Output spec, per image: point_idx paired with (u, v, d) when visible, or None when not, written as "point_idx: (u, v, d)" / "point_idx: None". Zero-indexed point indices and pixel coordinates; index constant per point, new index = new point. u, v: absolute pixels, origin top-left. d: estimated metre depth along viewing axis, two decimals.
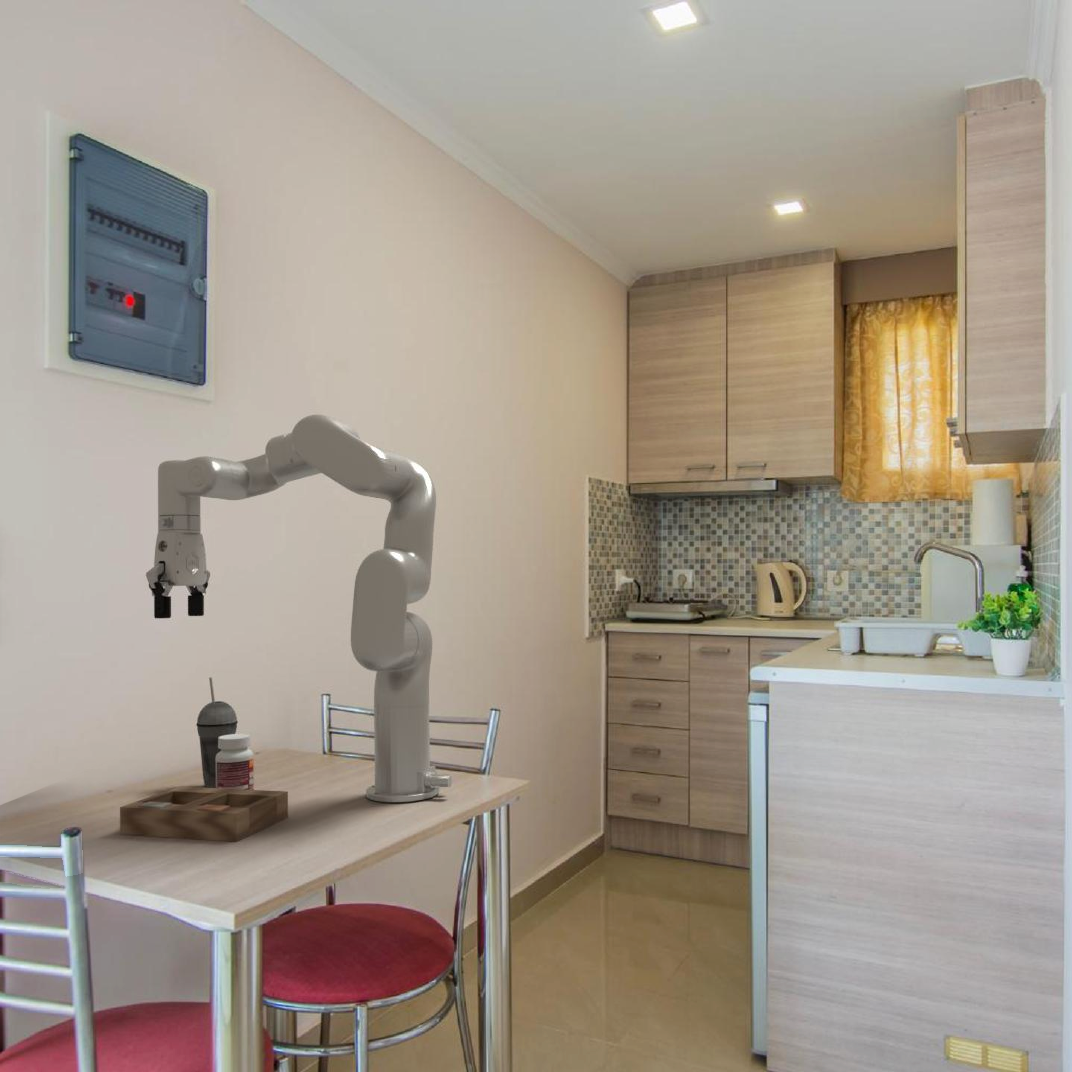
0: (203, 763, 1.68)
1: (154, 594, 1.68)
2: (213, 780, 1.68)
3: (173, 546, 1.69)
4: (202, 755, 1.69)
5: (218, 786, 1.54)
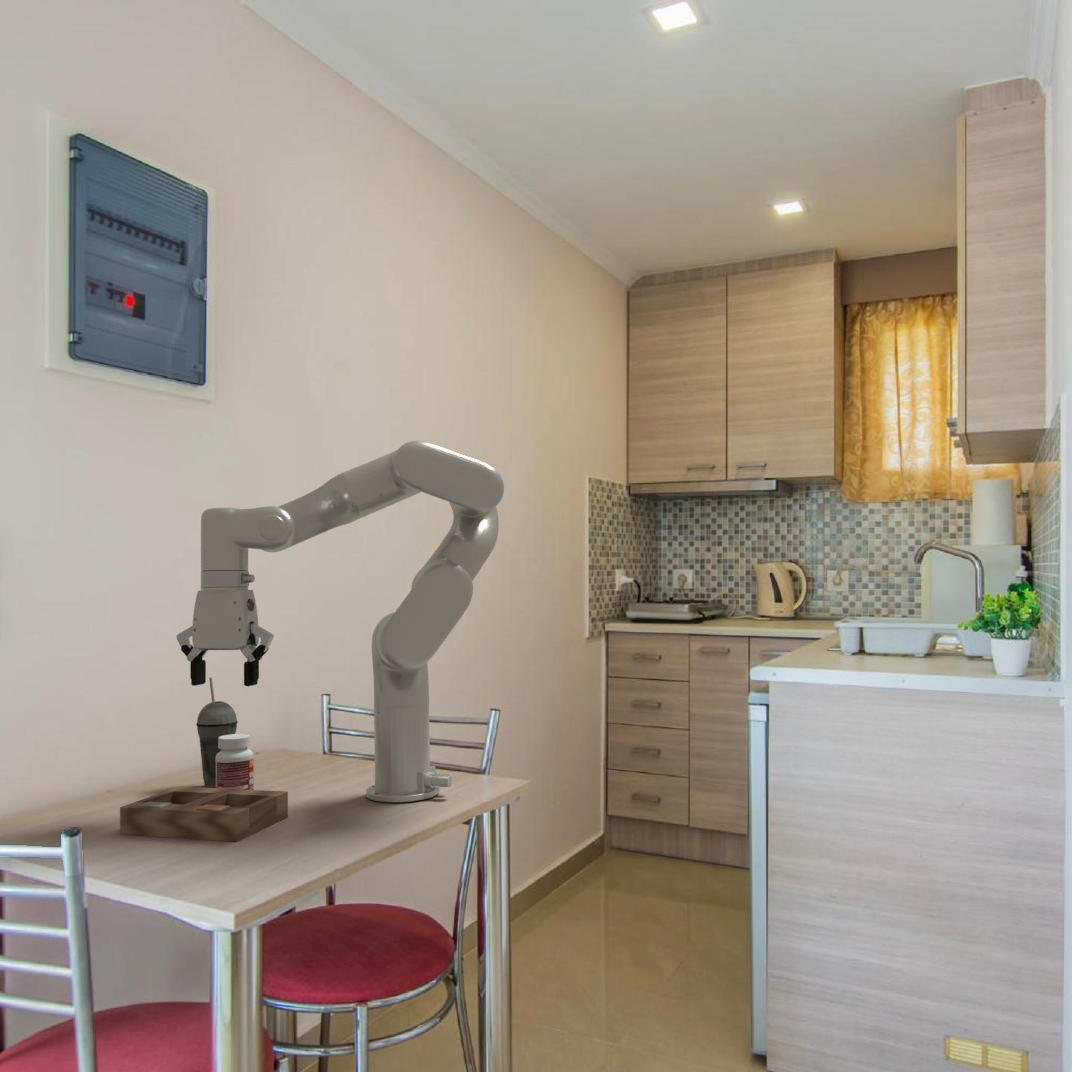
0: (203, 763, 1.68)
1: (255, 658, 1.51)
2: (213, 780, 1.68)
3: None
4: (202, 755, 1.69)
5: (218, 786, 1.54)
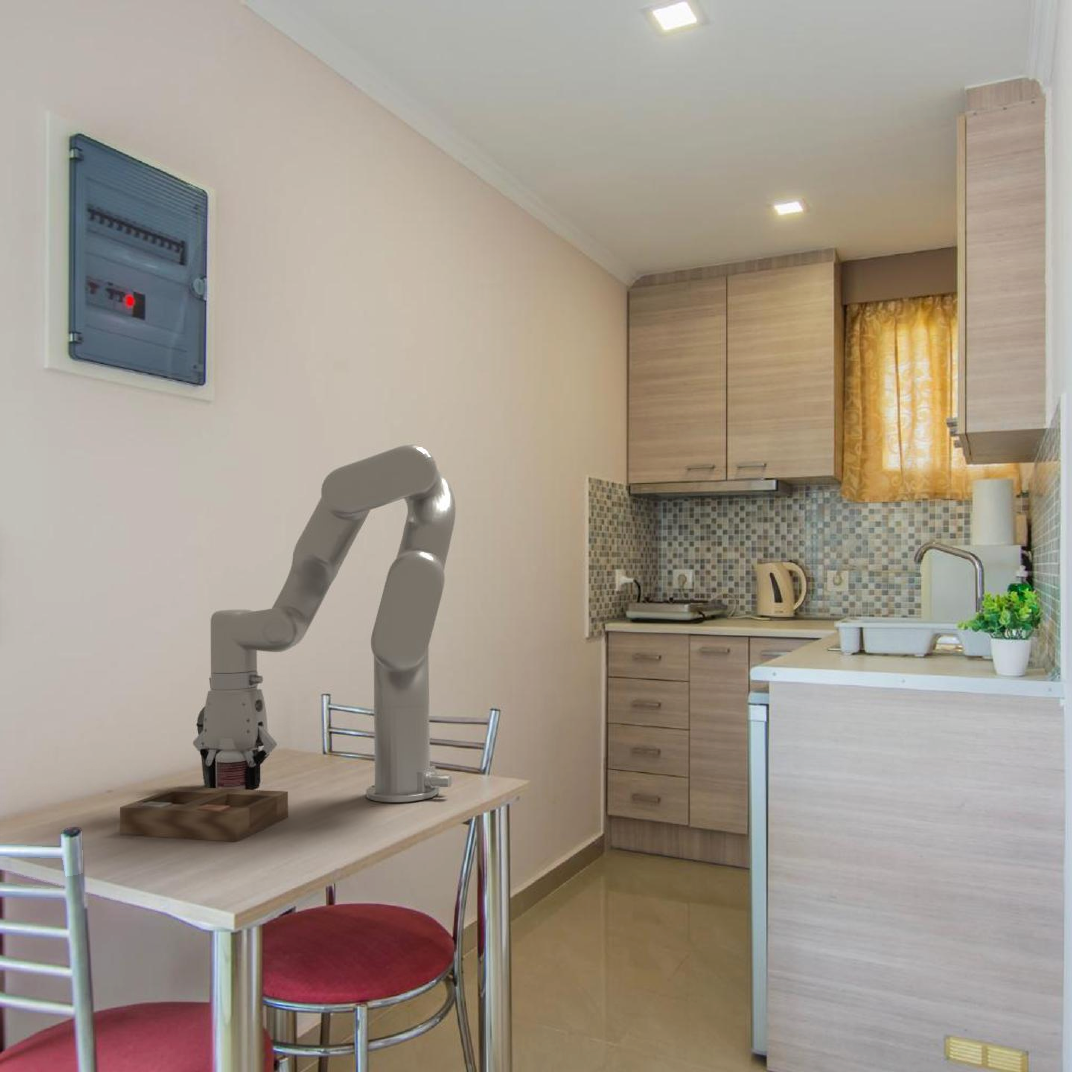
0: (203, 763, 1.68)
1: (256, 764, 1.55)
2: None
3: (264, 704, 1.58)
4: None
5: (218, 786, 1.54)
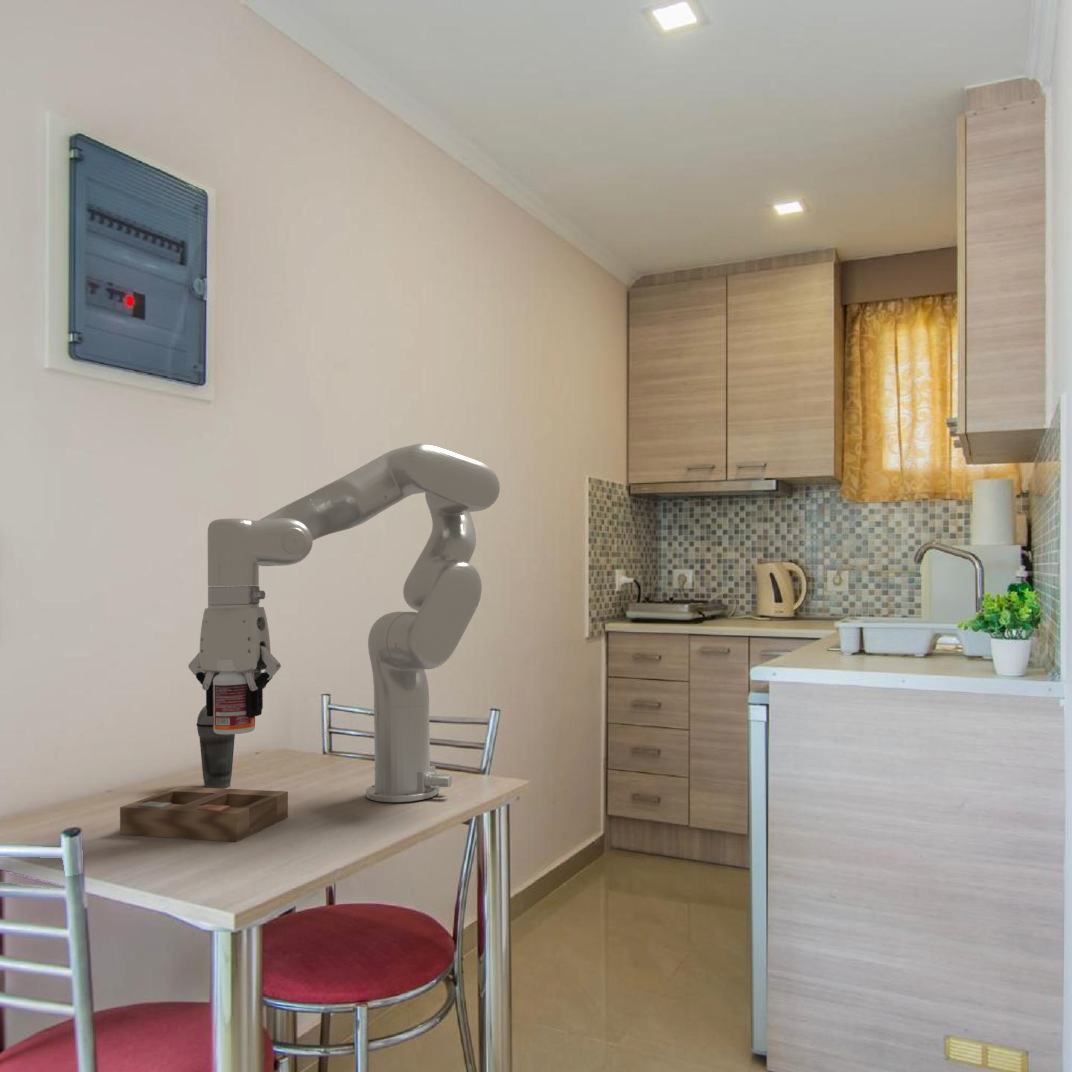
0: (203, 763, 1.68)
1: (258, 687, 1.40)
2: (213, 780, 1.68)
3: (267, 623, 1.43)
4: (202, 755, 1.69)
5: (216, 711, 1.40)
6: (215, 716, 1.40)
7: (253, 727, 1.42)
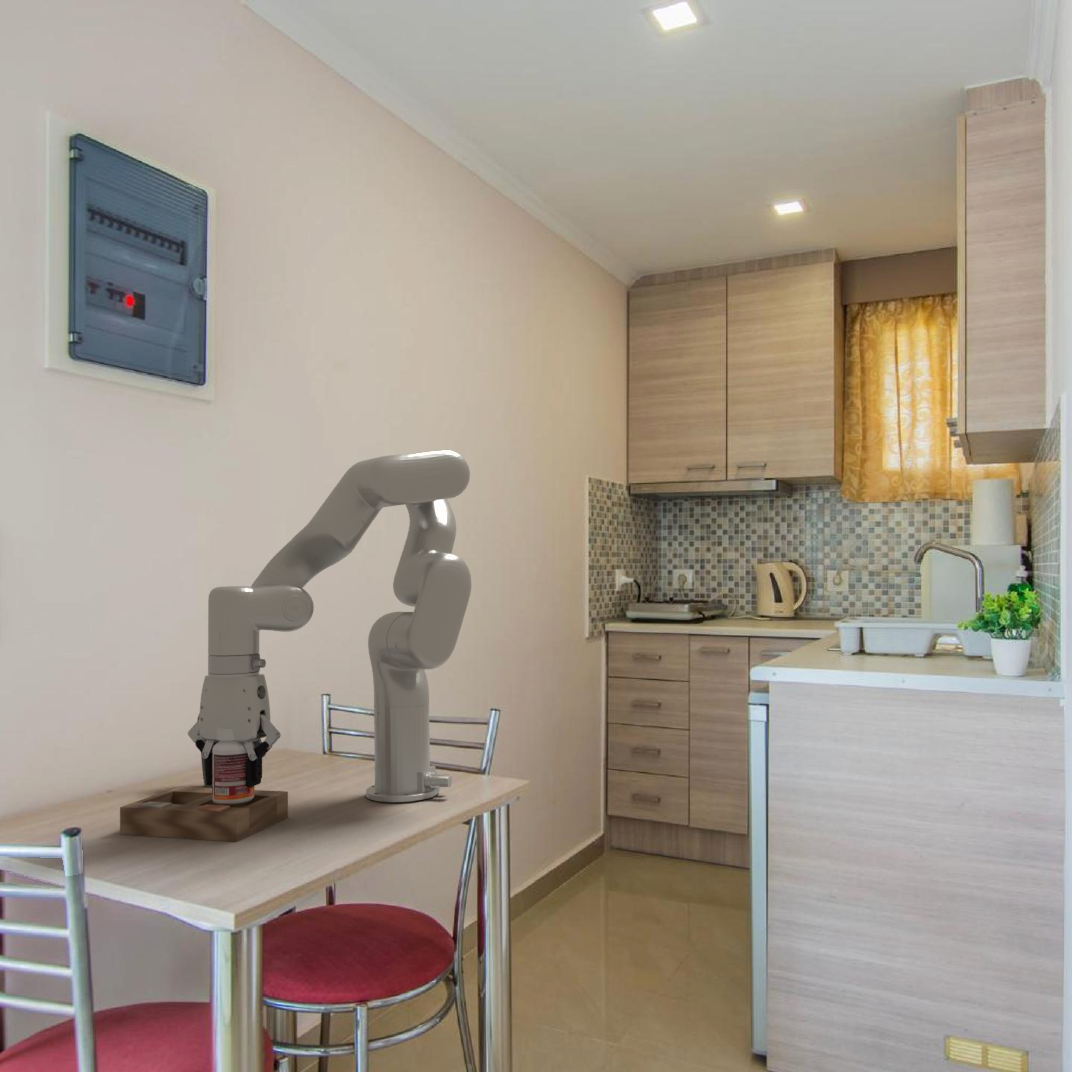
0: (203, 763, 1.68)
1: (258, 757, 1.40)
2: None
3: (267, 691, 1.43)
4: None
5: (215, 781, 1.39)
6: (215, 786, 1.39)
7: (252, 796, 1.41)
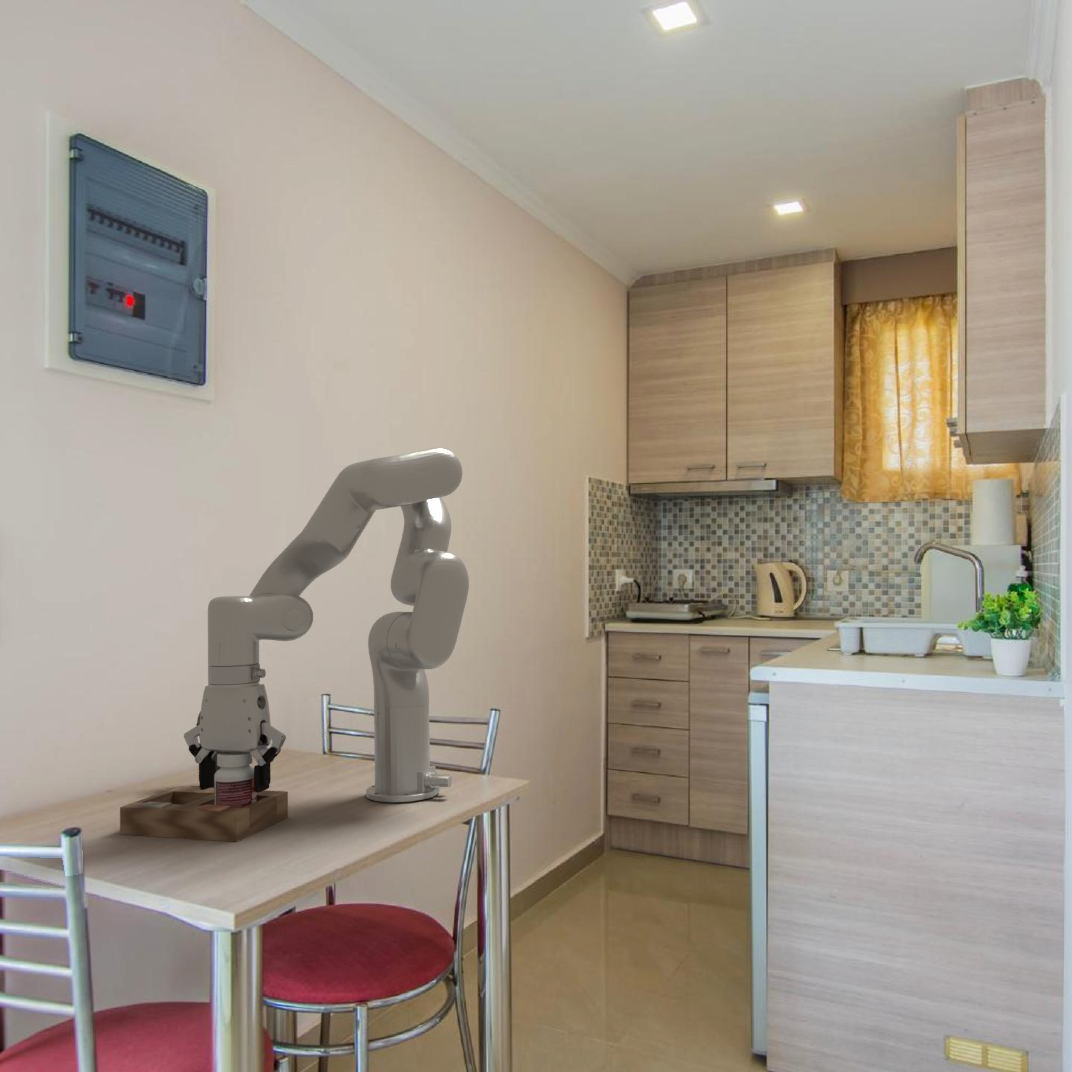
0: None
1: (266, 762, 1.39)
2: None
3: (267, 701, 1.43)
4: None
5: None
6: None
7: None
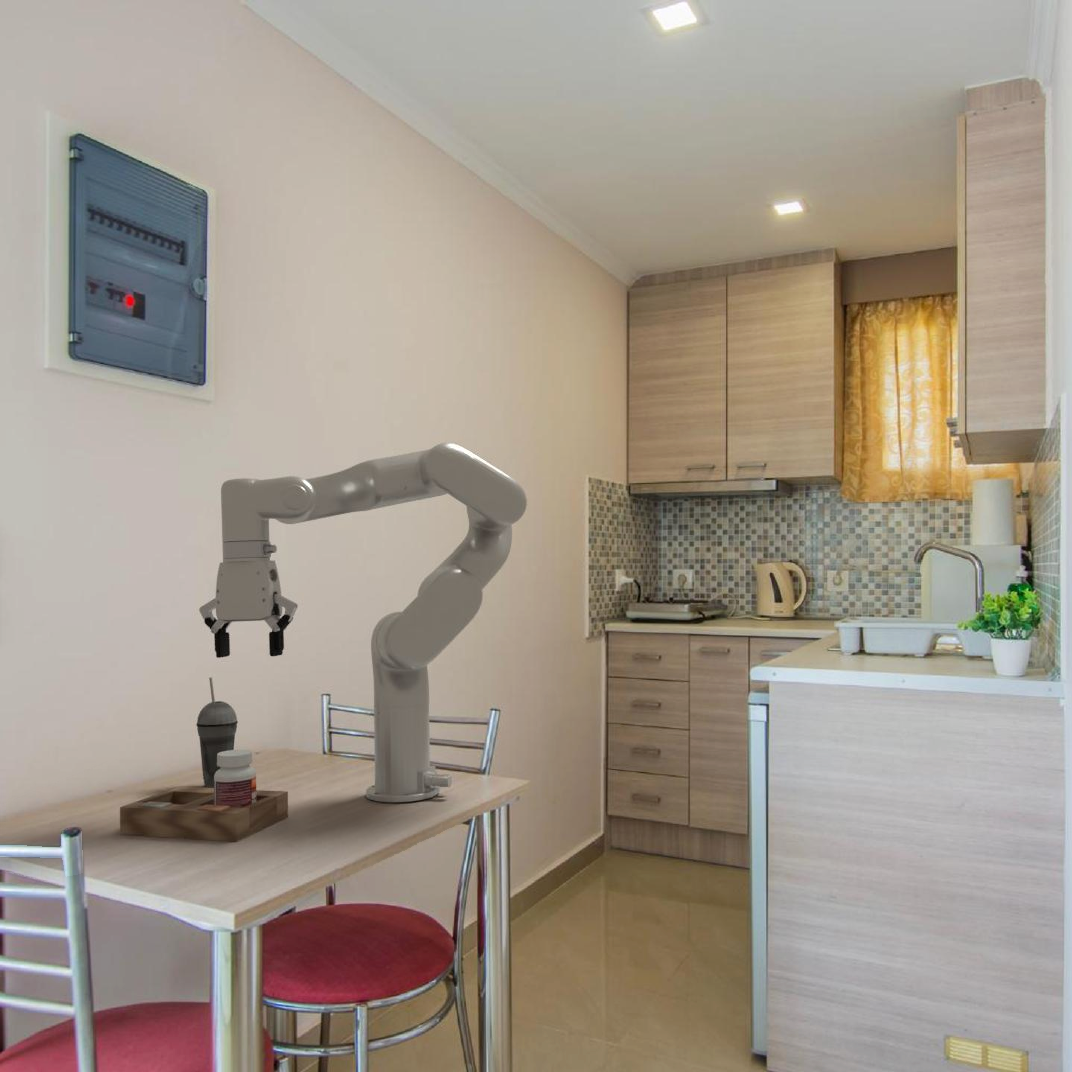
0: (203, 763, 1.68)
1: (280, 628, 1.51)
2: (213, 780, 1.68)
3: (278, 576, 1.55)
4: (202, 755, 1.69)
5: None
6: None
7: None
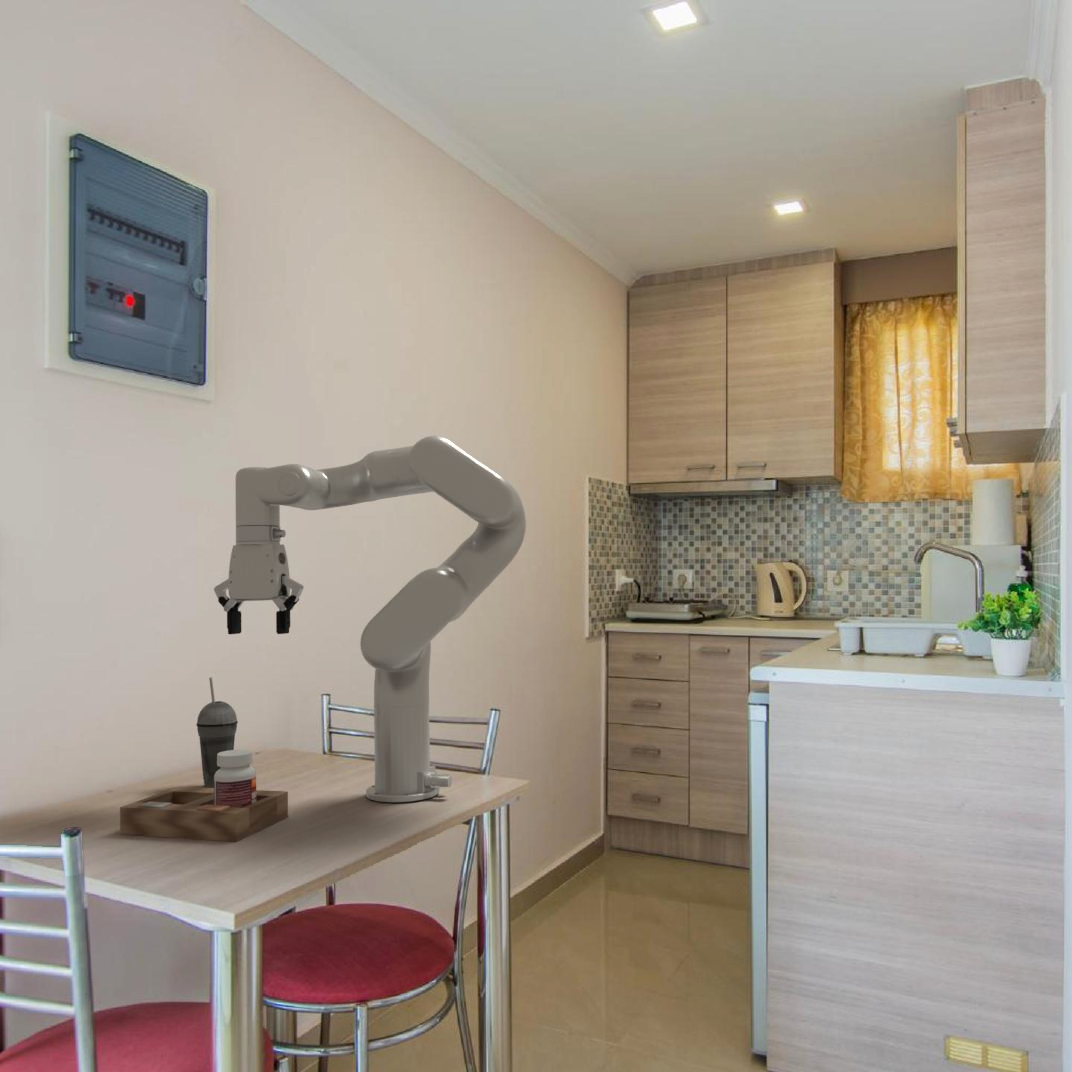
0: (203, 763, 1.68)
1: (287, 608, 1.61)
2: (213, 780, 1.68)
3: None
4: (202, 755, 1.69)
5: None
6: None
7: None
